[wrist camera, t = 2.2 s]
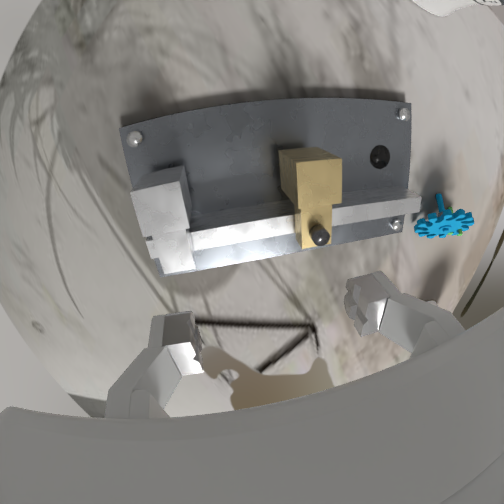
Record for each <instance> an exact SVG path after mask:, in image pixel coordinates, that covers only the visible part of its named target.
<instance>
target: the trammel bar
mask: <svg viewBox="0 0 504 504" xmlns="http://www.w3.org/2000/svg"><path fill="white" fill-rule="evenodd" d="M130 194H131V198H132V201H133V205H134V208H135V212H136V215H137V219H138V222H139V225H140V228H141V232H142V235H143V237H147V239H146V244H147V247H148V250H149V253H150V256H151V259H154V258H159V260H160V263H161V266H162V269H163V271H164V274H169V273H174V272H180V271H186V270H191V269H196V256H195V252H194V251H196V250H202V249H207V248H212V247H218V246H223V245H229V244H234V243H240V242H245V241H251V240H257V239H262V238H268V237H274V236H279V235H285V234H291V233H295V210H294V203H293V202H292V201H291V200H290V199H289V200H282V201H276V202H269V203H263V204H257V205H251V206H245V207H239V208H233V209H227V210H221V211H216V212H210V213H205V214H200V215H194V216H191V208H192V202H191V198H190V193H189V188H188V183H187V178H186V173H185V168H184V165H183V166H178V167H173V168H169V169H164V170H160V171H155V172H151V173H147V174H144V175H143V176H142V177H141V178H140V180H139V181H138V182H137V184H136V185H135V186H134V188H133V189H132V190H131V192H130ZM421 198H422V197H421V196H419V195H417V194H416V193H414V192H412V191H411V190H409V189H407V188H406V187H404V186H396V187H385V188H376V189H366V190H358V191H349V192H342V203H339V204H332V226H337V225H343V224H349V223H355V222H361V221H367V220H374V219H380V218H386V217H392V216H398V215H404V214H411V213H417V212H420V205H421Z"/></svg>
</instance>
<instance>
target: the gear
mask: <svg viewBox="0 0 504 504" xmlns="http://www.w3.org/2000/svg"><path fill="white" fill-rule="evenodd" d="M436 199H437V204H438V209H439V213H438V217H437V215H436V213H431V214H428V220H429V221H425V219H424V218H422V219H419V220H417V225H415V226H414V230H415V233H418V234H419V236H420V237H422V236H425V235H427V238H434V237H435V236H437V235H439V238H445V237H446V235H447V234H448V235H451V234H452V235H457V236H461V235H462V231H466V230H468V229H469V226H472V225H473V224H474V219H473V218H472V213H471V212H468V213H466V214H465V211H464V210H463V209H459V210H457V211H456V212H455V213H453V210H452V207H448V209H446V210H445V208H444V203H443V199H442V195H441V194H440V193H439V194H436Z"/></svg>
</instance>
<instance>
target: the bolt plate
mask: <svg viewBox="0 0 504 504" xmlns="http://www.w3.org/2000/svg"><path fill="white" fill-rule="evenodd" d="M119 131H120V136H121V141H122V145H123V150H124V154H125V159H126V163H127V167H128V171H129V175H130V179H131V183H132V187H133V188H134V186H135V185H136V184H137V182H138V181H139V180H140V178H141V177H142V176H143V175H144V174H147V173H151V172H155V171H160V170H164V169H169V168H173V167H178V166H183V165H184V168H185V173H186V178H187V183H188V188H189V193H190V198H191V202H192V208H191V216H194V215H200V214H205V213H210V212H216V211H221V210H227V209H233V208H239V207H245V206H251V205H257V204H263V203H269V202H276V201H282V200H289V197H288V196H287V195H286V194H285V193H284V191H283V190H282V189H281V178H280V165H279V153H278V150H287V149H297V148H308V147H319V148H321V149H323V150H325V151H327V152H329V153H332V154H334V155H336V156H338V157H340V158H342V192H349V191H358V190H366V189H376V188H385V187H396V186H404V187H406V188H407V189H408V181H409V169H410V153H411V103H405V102H396V101H386V100H374V99H357V98H294V99H276V100H264V101H253V102H244V103H236V104H228V105H221V106H214V107H208V108H202V109H197V110H191V111H186V112H181V113H176V114H172V115H167V116H163V117H159V118H155V119H151V120H147V121H143V122H139V123H135V124H132V125H128V126H125V127H122V128H119ZM404 216H405V214H404V215H398V216H392V217H386V218H380V219H374V220H367V221H361V222H355V223H349V224H343V225H337V226H332V234H331V244H326V245H324V246H316V247H311V248H305V249H302V248H301V247H300V245H299V244H298V242H297V240H296V233H291V234H285V235H279V236H274V237H268V238H262V239H257V240H251V241H245V242H240V243H234V244H229V245H223V246H218V247H212V248H207V249H202V250H196V251H194V252H195V256H196V269H191V270H186V271H180V272H174V273H169V274H164V271H163V269H162V266H161V263H160V260H159V258H154V260H155V263H156V266H157V269H158V272H159V274H160V277H165V276H170V275H176V274H181V273H187V272H193V271H198V270H204V269H209V268H215V267H220V266H226V265H231V264H237V263H242V262H247V261H253V260H258V259H264V258H269V257H274V256H280V255H285V254H290V253H296V252H301V251H306V250H312V249H317V248H322V247H327V246H332V245H338V244H343V243H348V242H353V241H358V240H363V239H369V238H374V237H379V236H384V235H389V234H394V233H399V232H402V229H403V223H404Z"/></svg>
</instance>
